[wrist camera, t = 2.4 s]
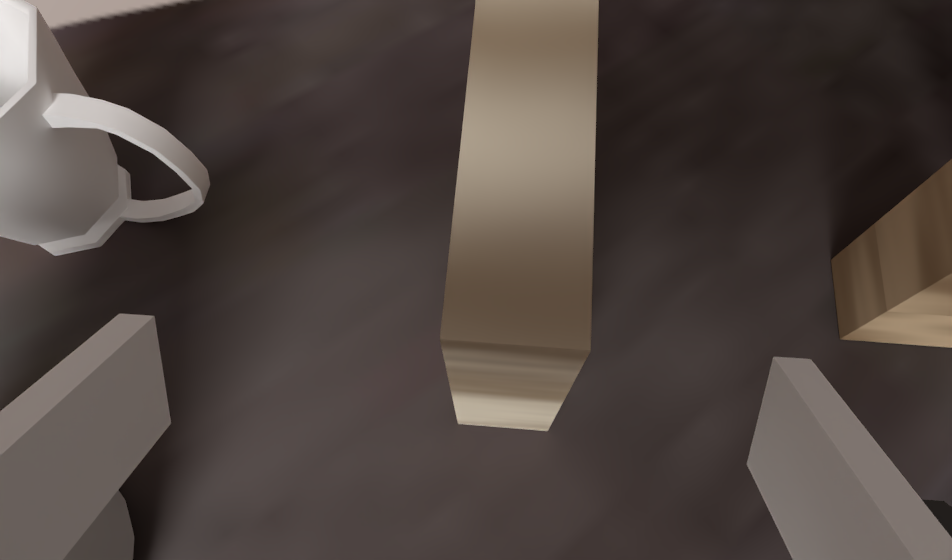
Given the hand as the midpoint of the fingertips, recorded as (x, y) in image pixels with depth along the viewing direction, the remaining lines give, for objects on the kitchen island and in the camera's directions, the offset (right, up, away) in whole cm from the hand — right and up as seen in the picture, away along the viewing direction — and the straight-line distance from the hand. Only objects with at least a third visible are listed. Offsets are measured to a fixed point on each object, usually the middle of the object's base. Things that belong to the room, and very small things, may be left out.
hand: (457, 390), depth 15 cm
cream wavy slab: (+2, +3, +10) cm, 11 cm away
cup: (-13, +5, +11) cm, 18 cm away
